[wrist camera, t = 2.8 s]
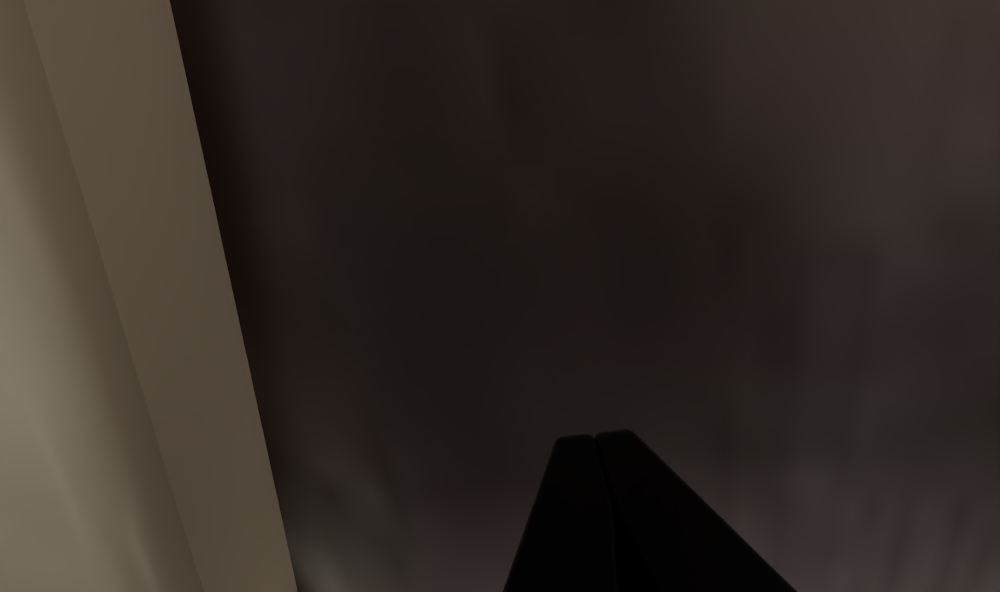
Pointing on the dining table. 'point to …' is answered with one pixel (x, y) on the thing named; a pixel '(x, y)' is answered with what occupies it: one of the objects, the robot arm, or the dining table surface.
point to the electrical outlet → (119, 323)
